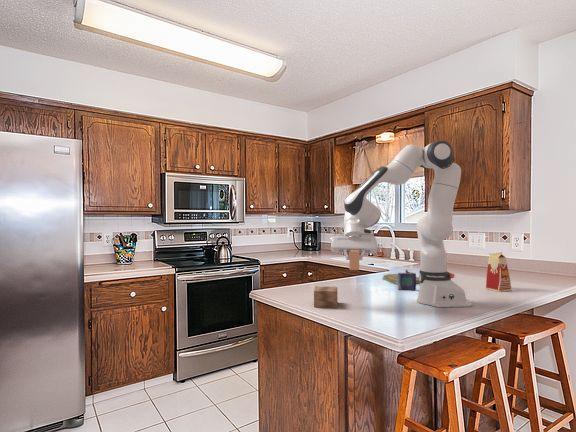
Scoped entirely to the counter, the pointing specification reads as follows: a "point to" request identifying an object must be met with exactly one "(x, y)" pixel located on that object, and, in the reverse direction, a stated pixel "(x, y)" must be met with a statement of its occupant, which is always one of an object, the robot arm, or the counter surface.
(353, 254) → the terracotta block
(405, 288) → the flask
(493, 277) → the milk carton
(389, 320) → the counter surface
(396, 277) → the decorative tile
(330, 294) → the small wooden cube
